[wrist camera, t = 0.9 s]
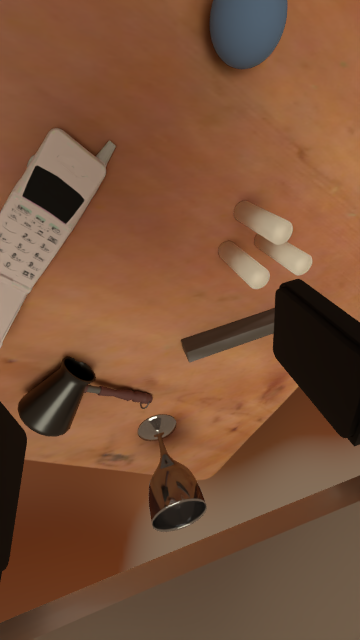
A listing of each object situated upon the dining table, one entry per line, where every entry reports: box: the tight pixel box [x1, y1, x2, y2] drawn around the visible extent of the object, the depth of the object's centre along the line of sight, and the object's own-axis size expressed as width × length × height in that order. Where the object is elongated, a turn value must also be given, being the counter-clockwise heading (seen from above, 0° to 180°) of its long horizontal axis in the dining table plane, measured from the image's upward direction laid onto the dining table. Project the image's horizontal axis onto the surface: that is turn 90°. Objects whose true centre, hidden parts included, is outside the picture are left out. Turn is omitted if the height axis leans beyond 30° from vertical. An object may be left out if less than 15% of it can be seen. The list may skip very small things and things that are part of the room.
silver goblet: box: [138, 415, 207, 532], centre depth 48 cm, size 8×8×15 cm
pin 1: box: [218, 241, 270, 289], centre depth 34 cm, size 2×2×8 cm
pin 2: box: [254, 234, 312, 275], centre depth 35 cm, size 2×2×8 cm
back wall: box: [181, 308, 275, 362], centre depth 44 cm, size 2×22×3 cm, turn 102°
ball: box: [210, 0, 287, 69], centre depth 24 cm, size 6×6×6 cm
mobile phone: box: [0, 128, 116, 348], centre depth 29 cm, size 6×6×25 cm
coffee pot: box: [18, 357, 153, 436], centre depth 43 cm, size 8×18×8 cm
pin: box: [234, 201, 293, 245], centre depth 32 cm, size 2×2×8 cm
